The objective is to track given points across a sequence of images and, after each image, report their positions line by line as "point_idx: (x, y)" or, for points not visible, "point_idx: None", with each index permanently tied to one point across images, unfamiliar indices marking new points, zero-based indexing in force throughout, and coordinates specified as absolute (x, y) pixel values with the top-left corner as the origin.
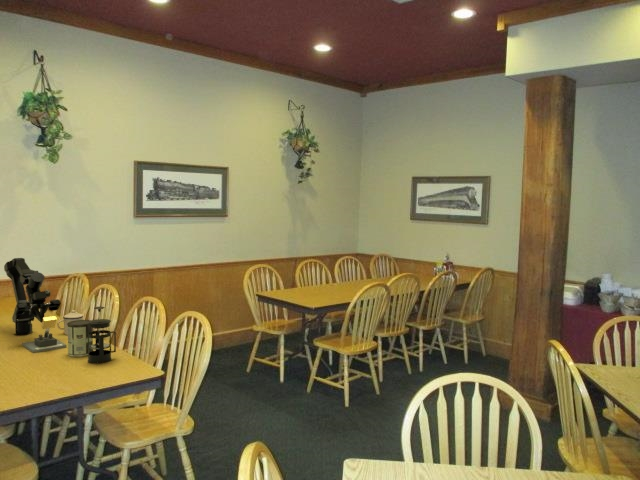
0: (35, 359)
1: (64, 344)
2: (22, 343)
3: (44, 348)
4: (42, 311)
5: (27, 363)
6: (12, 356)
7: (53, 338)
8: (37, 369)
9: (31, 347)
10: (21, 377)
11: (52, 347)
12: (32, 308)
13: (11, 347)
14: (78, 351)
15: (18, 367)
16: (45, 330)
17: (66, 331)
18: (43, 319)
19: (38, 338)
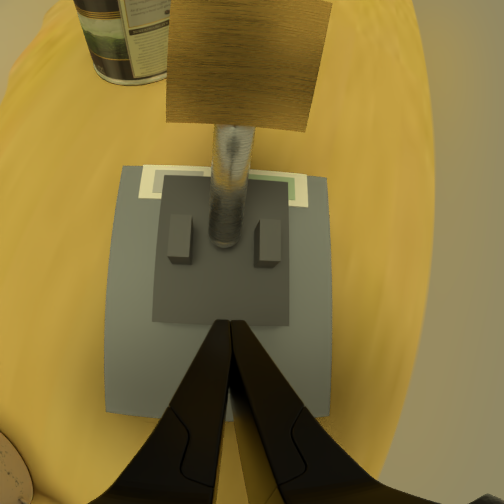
0: (333, 86)
1: (125, 182)
2: (328, 406)
3: (261, 170)
4: (193, 474)
5: (366, 69)
6: (411, 201)
7: (170, 215)
8: (344, 12)
9: (318, 252)
10: (385, 5)
11: (210, 168)
12: (478, 498)
13: (380, 398)
14: None
15: (394, 59)
16: (250, 162)
17: (15, 471)
18: (325, 15)
19: (264, 298)
